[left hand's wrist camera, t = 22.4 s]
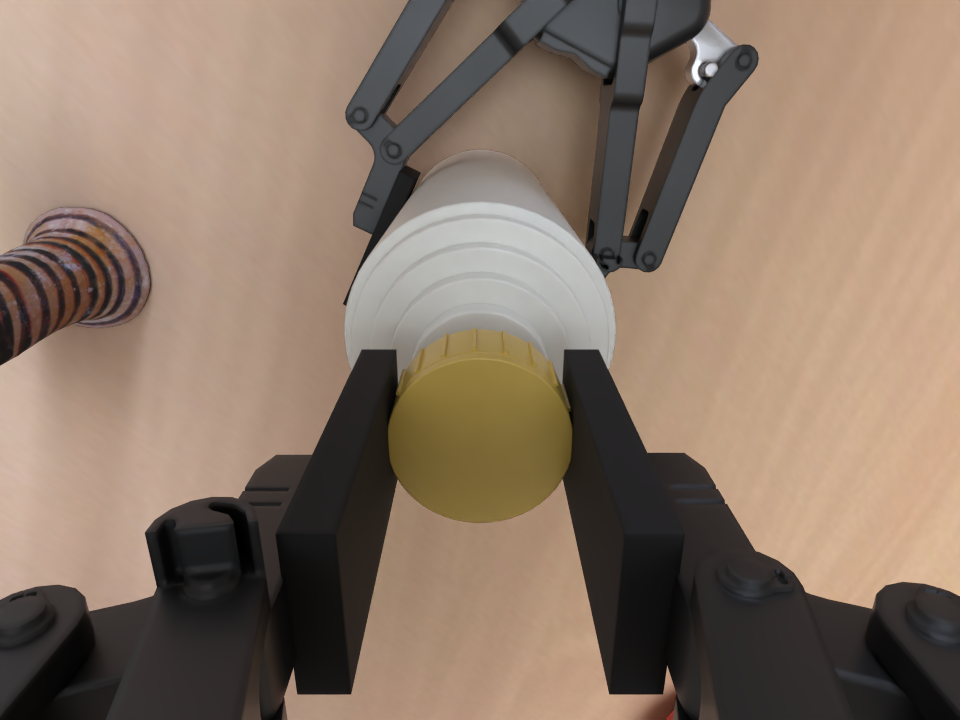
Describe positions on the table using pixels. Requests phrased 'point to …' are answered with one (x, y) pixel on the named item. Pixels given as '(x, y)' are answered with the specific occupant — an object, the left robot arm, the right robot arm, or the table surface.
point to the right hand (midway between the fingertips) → (437, 335)
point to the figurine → (69, 278)
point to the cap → (480, 427)
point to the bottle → (480, 268)
